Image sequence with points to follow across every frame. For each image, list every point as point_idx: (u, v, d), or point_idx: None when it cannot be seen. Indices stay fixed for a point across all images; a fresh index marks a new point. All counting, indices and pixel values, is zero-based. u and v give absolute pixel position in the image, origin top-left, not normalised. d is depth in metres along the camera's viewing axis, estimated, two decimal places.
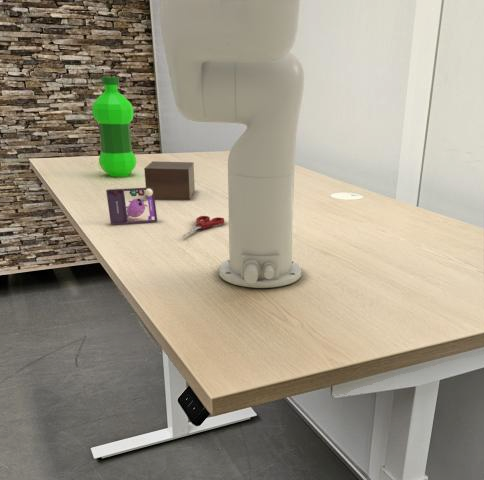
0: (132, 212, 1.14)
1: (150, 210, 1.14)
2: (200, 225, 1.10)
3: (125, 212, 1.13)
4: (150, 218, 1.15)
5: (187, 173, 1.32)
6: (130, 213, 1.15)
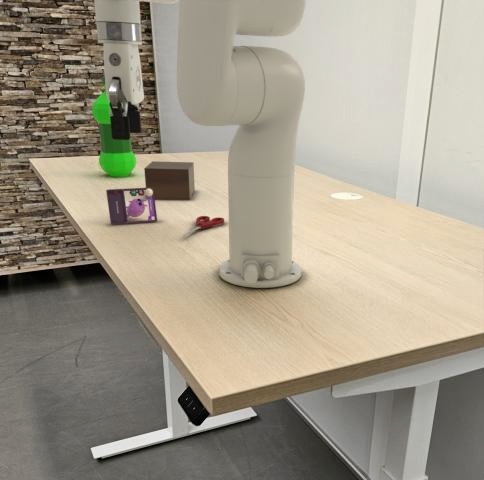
0: (132, 212, 1.14)
1: (150, 210, 1.14)
2: (200, 225, 1.10)
3: (125, 212, 1.13)
4: (150, 218, 1.15)
5: (187, 173, 1.32)
6: (130, 213, 1.15)
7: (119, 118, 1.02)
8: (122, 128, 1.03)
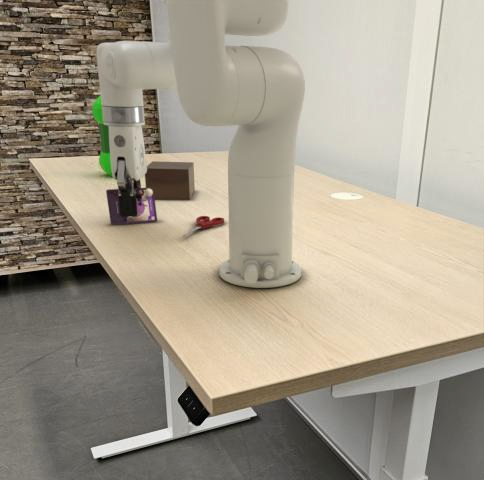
0: None
1: (150, 210, 1.14)
2: (200, 225, 1.10)
3: None
4: (150, 218, 1.15)
5: (187, 173, 1.32)
6: None
7: (127, 198, 1.10)
8: (130, 206, 1.11)
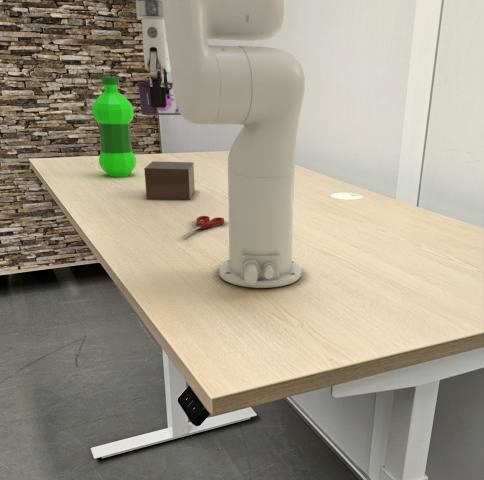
0: None
1: None
2: (200, 225, 1.10)
3: None
4: (177, 111, 1.26)
5: (187, 173, 1.32)
6: None
7: (158, 89, 1.22)
8: (160, 97, 1.22)
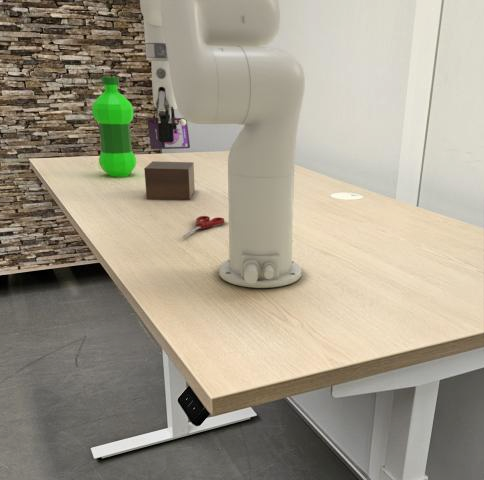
0: None
1: (184, 138, 1.33)
2: (200, 225, 1.10)
3: None
4: (183, 145, 1.33)
5: (187, 173, 1.32)
6: None
7: (166, 125, 1.28)
8: (168, 133, 1.29)
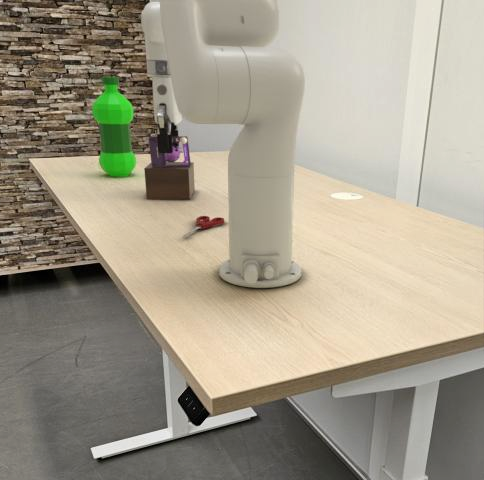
0: (169, 157, 1.34)
1: (185, 156, 1.34)
2: (200, 225, 1.10)
3: (164, 157, 1.33)
4: (184, 162, 1.34)
5: (187, 173, 1.32)
6: (167, 158, 1.34)
7: (165, 136, 1.27)
8: (167, 144, 1.28)
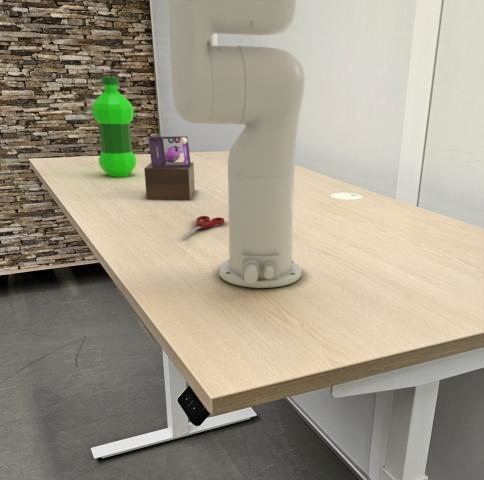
0: (169, 157, 1.34)
1: (185, 156, 1.34)
2: (200, 225, 1.10)
3: (164, 157, 1.33)
4: (184, 162, 1.34)
5: (187, 173, 1.32)
6: (167, 158, 1.34)
7: None
8: None
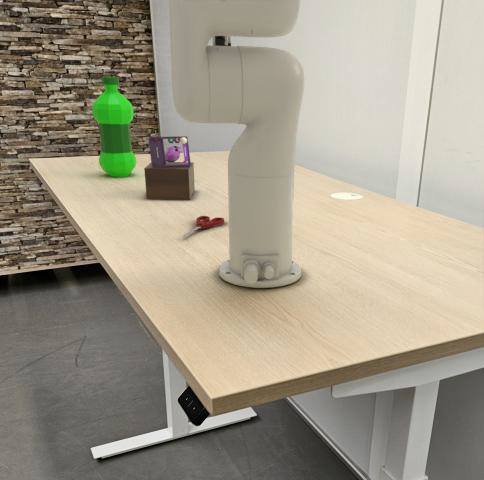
0: (169, 157, 1.34)
1: (185, 155, 1.34)
2: (200, 225, 1.10)
3: (164, 157, 1.33)
4: (184, 162, 1.34)
5: (187, 173, 1.32)
6: (167, 158, 1.34)
7: None
8: None
